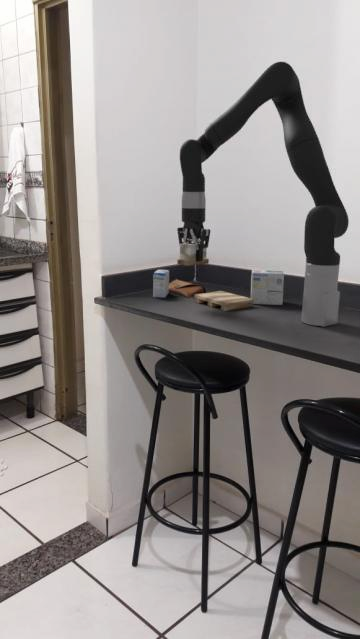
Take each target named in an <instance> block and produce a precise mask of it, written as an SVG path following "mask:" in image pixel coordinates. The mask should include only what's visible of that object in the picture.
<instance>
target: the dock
mask: <svg viewBox="0 0 360 639" xmlns="http://www.w3.org/2000/svg"><path fill="white" fill-rule="evenodd" d="M193 298H194V303H197V304H205V303H207V307H211V308H213V307H220V310H221V311H224V312H226V311H233V310H238V309H244V308H250V307H253V305H254V304H253V302H254V299H252V298H251V297H247V296H243V295H239V294H237V293H236V294H235V293H231V292H227V291H223V290H218V291H217V290H216V291H211V292H206V293H202V294H195V295H194V297H193Z"/></svg>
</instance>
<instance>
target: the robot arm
mask: <svg viewBox="0 0 360 639" xmlns="http://www.w3.org/2000/svg"><path fill="white" fill-rule="evenodd" d="M270 100H271V101H272V103H273V104H274V106H275V109H276V110H277V112H278V115H279V118H280V120H281V123H282V128H283V129H282V130H283V141H284V147H285V150H286V153H287V157H288V159H289V162H290V166H291V168H292V170H293V172H294V173H295V175H296V177H297V178H298V179H299V180H300V182H301V183H302V184H303V185H304V187H305V188H306V189H307V190H308V192H309V194H310V196H311V197H312V200H313V202H314V205H315V206H314V207H312V208H311V209H310V210H309V211H308V212H307V215H306V218H305V222H304V236H303V237H304V238H303V239H304V240H303V250H304V254H305V259H306V260H305V268H304V269H305V270H304V271H305V272H304V282H303V294H302V295H303V296H302V309H301V319H300V320H301V322H302V323H304V324H307V325H308V326H309V325H310V326H318V327H323V328H325V327H328V326H329V327H330V326H333V325H337V324H338V316H339V306H340V299H341V297H340V296H341V292H340V291H339V290H338V285H339V284H338V283H339V273H340V263H341V255H340V253H339V252H337V251H336V249H335V239H338V238H340V237H342V236H344V235H345V233H346V232H347V230H348V227H349V223H350V222H349V221H350V220H349V215H348V212H347V209H346V207H345V206H344V203H343V202H342V200H341V197H340V195H339V193H338V191H337V188H336V186H335V184H334V180H333V178H332V175H331V174H332V173H331V172H330V168H329V166H328V163H327V161H326V158H325V155H324V150H323V148H322V145H321V142H320V139H319V137H318V134H317V132H316V129H315V127H314V124H313V123H312V121H311V119H310V117H309V113H308V112H307V109H306V107H305V102H304V97H303V94H302V89H301V83H300V79H299V77H298V75H297V73H296V71H295V70H294V68H293V66H291V64H289V63H288V62H286V61H277V62H274V63H273V64H271V65H269V66H268V67H267V68H266V70H264V72H263V73H261V75H260V76H259V77H258V78H257V79H256V81H254V83H253V84H252V85H251V86H250V87H249V88H248V89H247V90H245V92H244V93H243V94H242V95H241V96H240V97H239V98H238V99H237V100H236V101H235V102H234V103H233V104H231V106H230V107H229V108H228V109H227V110H225V111H224V112H223V113H222V114H220V115H219V116H218V117H217V118H215V119H214V120H213V121H212V122H211V123H209V124H208V125H207V127H205V129H204V132H203V133H202V134H201V135H200V136H199V137H198V138H197V139H193V138H192V139H191V138H190V139H187V140H185V141H183V142H182V144H181V146H180V149H179V164H180V169H181V175H182V196H181V222H182V223H183V227H181V226H180V227H177V230H176V231H177V236H178V237H177V238H178V244H179V246H180V244H183V243H195V244H196V249H197V250H196V262H201V261H202V260H203V249H205V248H207V249H208V248H209V242H210V236H211V229H209V228H207V229H206V228H205V227H204V223H205V222H206V204H207V203H206V200H207V199H206V178H205V175H204V173H203V166H202V163H204V162H205V161H207V160H208V159H209V158H210V157H212V155H213V154H214V153H215V152H217V150H218V149H219V148H220V147H221V146H222V145H224V144H225V143H226V142H228V141H229V140H231V139H232V138H233V137H234V136H235V135H237V134H238V133H239V132H240V131H241V130H242V128H244V126H245V125H246V123H247V122H248V121H249V120H250V118H251V117H252V115H253V114H254V113H255V112H256V111H257V110H258V109H259V108H260V107H262V106H263V105H264V104H266V103H267V102H269V101H270ZM199 243H200V245H199ZM204 243H205V244H204Z"/></svg>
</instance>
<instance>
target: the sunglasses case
mask: <svg viewBox="0 0 360 639" xmlns="http://www.w3.org/2000/svg"><path fill="white" fill-rule="evenodd" d="M169 293H172V294H174V295H175V294H176V295H178V296H182V297H185V298H194V295H195V294H202V293H207V290H206V288H205V287H204V286H203V285H201V284H196V283H195V284H194V283H192V282H187V281H184V280H180V279H177V278H174V279H173V280H172V281H171V282H169Z"/></svg>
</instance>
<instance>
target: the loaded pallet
mask: <svg viewBox="0 0 360 639" xmlns="http://www.w3.org/2000/svg"><path fill="white" fill-rule="evenodd" d="M204 244H205V242H204ZM199 245H200V243H199ZM207 249H208V248H205V249H203V260H202V261H201V262H196V250H197V249H196V244H195V243H194V242H192V243H188V242H187V243H183V244H180V245H179V259H177V262H176V264H177V265H180V266H185V267H187V266H198V265H209V264H210V263H209V261H210V259H209V258H207Z"/></svg>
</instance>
